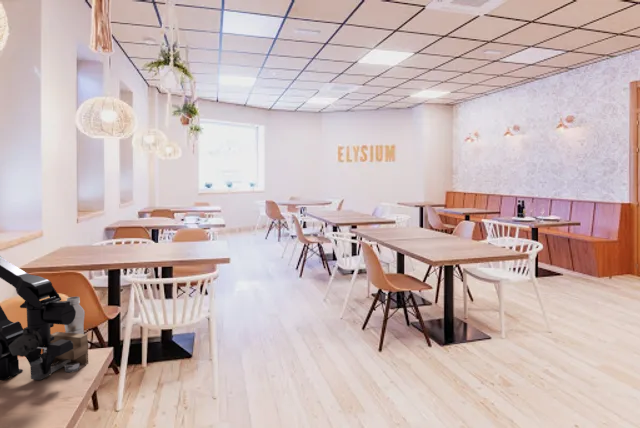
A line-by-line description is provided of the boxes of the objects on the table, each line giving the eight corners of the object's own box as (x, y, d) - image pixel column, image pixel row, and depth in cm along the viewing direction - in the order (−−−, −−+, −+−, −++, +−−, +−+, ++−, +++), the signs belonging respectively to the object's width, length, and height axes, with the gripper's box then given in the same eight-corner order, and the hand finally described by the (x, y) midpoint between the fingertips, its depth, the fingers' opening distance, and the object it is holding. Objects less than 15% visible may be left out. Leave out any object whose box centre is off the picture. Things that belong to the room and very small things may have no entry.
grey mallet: (30, 378, 129) (30, 362, 128) (64, 361, 141) (63, 346, 140) (40, 380, 128) (39, 363, 128) (72, 362, 140) (71, 347, 140)
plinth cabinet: (43, 367, 138) (41, 338, 137) (58, 359, 144) (56, 331, 143) (74, 370, 136) (73, 341, 135) (88, 362, 141) (87, 334, 141)
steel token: (61, 372, 135) (61, 366, 135) (71, 366, 139) (71, 360, 139) (72, 373, 134) (72, 367, 134) (82, 368, 138) (82, 361, 138)
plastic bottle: (80, 359, 144) (77, 300, 142) (59, 359, 144) (57, 300, 142) (90, 352, 150) (88, 295, 149) (71, 352, 150) (69, 295, 149)
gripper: (-13, 328, 123) (-10, 382, 124) (42, 334, 119) (45, 389, 120) (21, 317, 134) (24, 366, 135) (73, 321, 130) (75, 371, 131)
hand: (41, 373), depth 130 cm, fingers closed on grey mallet, 3 cm apart
